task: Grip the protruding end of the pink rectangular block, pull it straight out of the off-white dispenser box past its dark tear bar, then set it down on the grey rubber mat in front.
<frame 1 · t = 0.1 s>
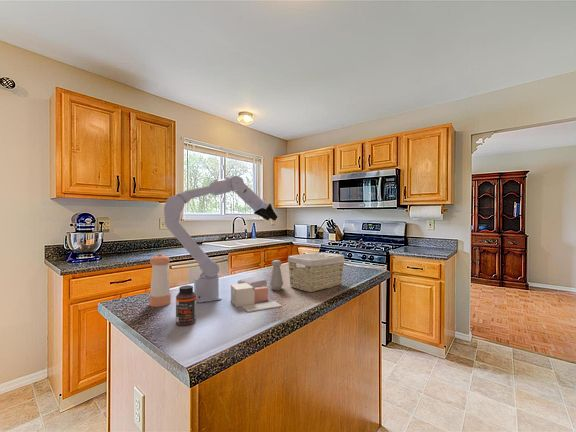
hand: (272, 218, 123), 32 cm above the countertop, tool tilted 50°, fingers open, 7 cm apart
salt shaker: (276, 289, 125), on the countertop
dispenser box: (242, 302, 106), on the countertop
mat: (262, 306, 101), on the countertop
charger: (248, 289, 126), on the countertop
supplement bottle: (186, 323, 86), on the countertop
salt shaker 2: (160, 304, 105), on the countertop
storage basket: (316, 286, 130), on the countertop
pink rectangular block: (253, 301, 108), on the countertop
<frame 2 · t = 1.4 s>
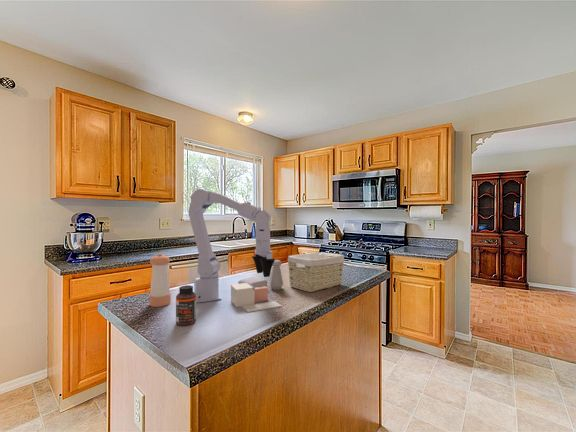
hand: (263, 274, 109), 10 cm above the countertop, tool pointing down, fingers open, 7 cm apart
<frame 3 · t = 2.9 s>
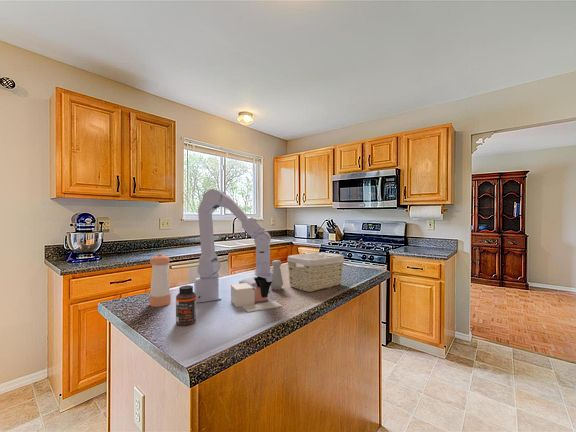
hand: (263, 296, 109), 1 cm above the countertop, tool pointing down, fingers closed on pink rectangular block, 2 cm apart
pink rectangular block: (253, 301, 108), on the countertop, touching gripper
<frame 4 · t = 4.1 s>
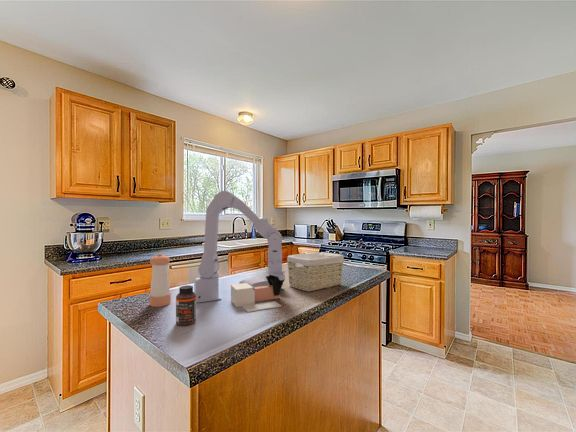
hand: (275, 294, 112), 1 cm above the countertop, tool pointing down, fingers closed on pink rectangular block, 2 cm apart
pink rectangular block: (265, 299, 110), on the countertop, touching gripper
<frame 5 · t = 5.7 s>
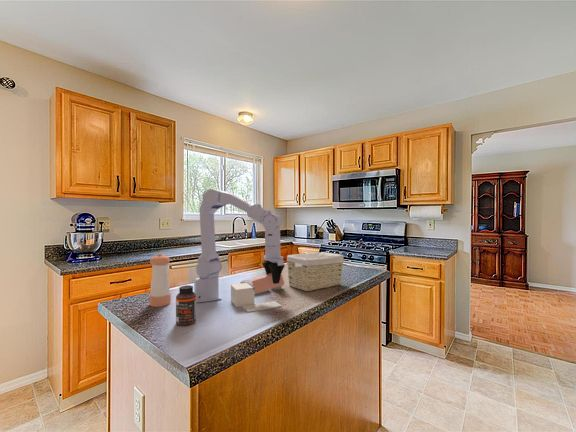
hand: (273, 281, 103), 9 cm above the countertop, tool pointing down, fingers closed on pink rectangular block, 5 cm apart
pink rectangular block: (270, 287, 104), point 6 cm above the countertop, tilted 21°, touching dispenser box, gripper
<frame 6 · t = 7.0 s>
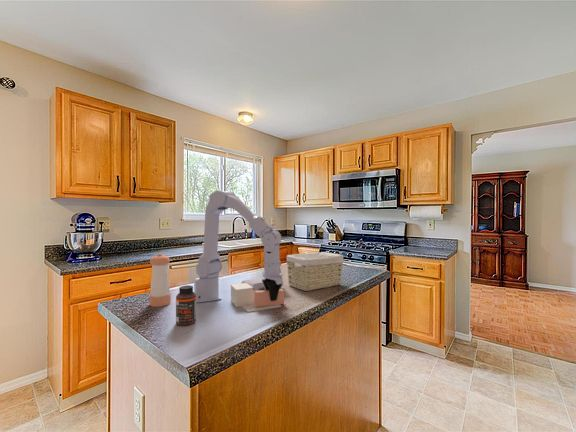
hand: (272, 299, 102), 2 cm above the countertop, tool pointing down, fingers closed on pink rectangular block, 2 cm apart
pink rectangular block: (269, 304, 102), point 1 cm above the countertop, touching gripper, mat
when the fingers open (2 cm above the countertop, at t = 7.2 s): pink rectangular block stays where it is, resting on mat.
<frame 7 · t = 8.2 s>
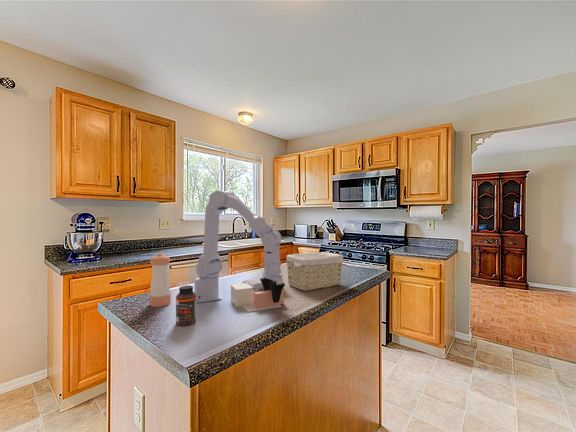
hand: (272, 299, 102), 2 cm above the countertop, tool pointing down, fingers open, 7 cm apart
pink rectangular block: (269, 304, 102), resting on mat
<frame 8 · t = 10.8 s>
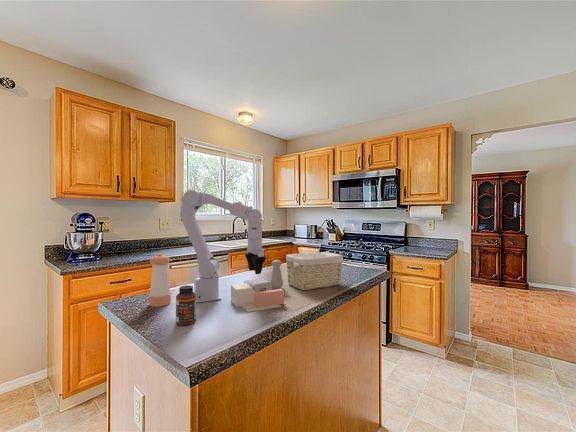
hand: (255, 272, 112), 10 cm above the countertop, tool pointing down, fingers open, 7 cm apart
at the end: pink rectangular block inside the target area on the mat (2.8 cm from its centre), point 0.4 cm above the mat's base; pink rectangular block touching mat; the gripper is holding nothing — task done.
